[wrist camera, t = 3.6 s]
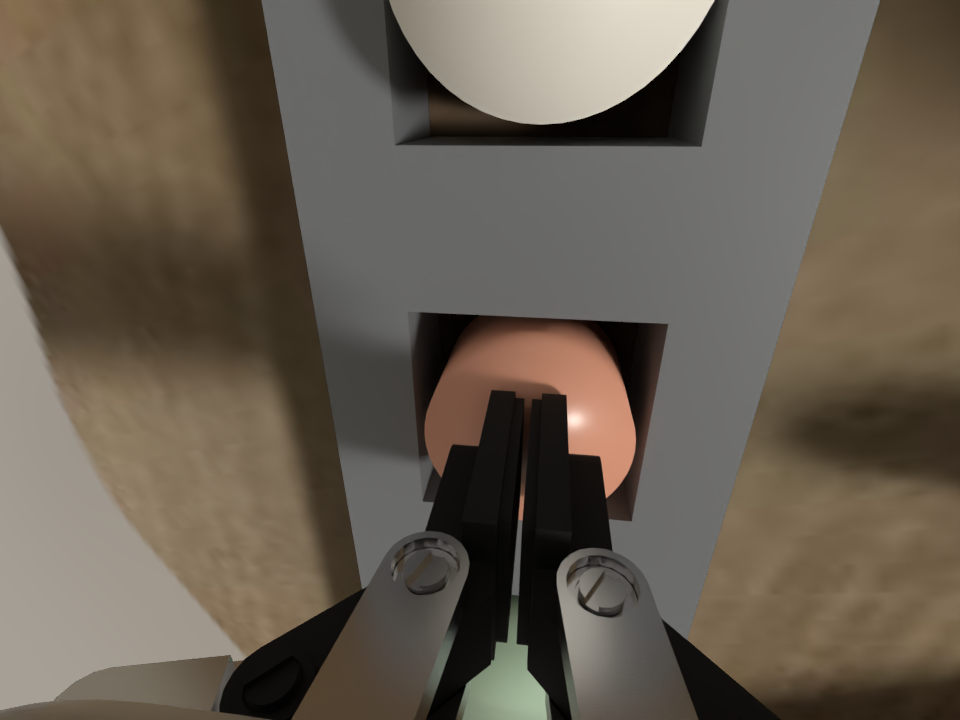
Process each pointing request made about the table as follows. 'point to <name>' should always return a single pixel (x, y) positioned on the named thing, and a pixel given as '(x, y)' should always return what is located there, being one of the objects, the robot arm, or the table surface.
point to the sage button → (507, 683)
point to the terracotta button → (535, 388)
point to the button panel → (563, 252)
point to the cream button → (547, 51)
